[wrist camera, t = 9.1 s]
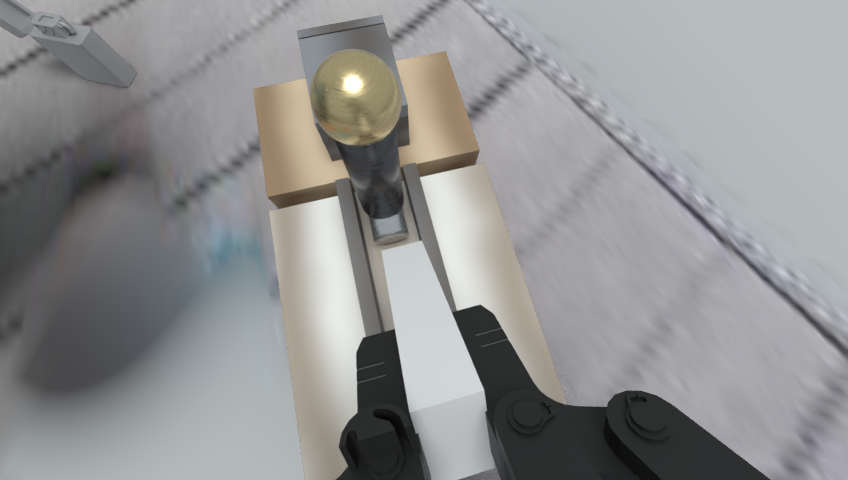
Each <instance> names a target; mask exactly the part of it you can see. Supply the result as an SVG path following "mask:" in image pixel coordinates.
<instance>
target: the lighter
mask: <svg viewBox="0 0 848 480" xmlns="http://www.w3.org/2000/svg"><path fill="white" fill-rule="evenodd" d="M0 27H2V28H4V29H5V30H7V31H9V32H10V33H12V34H14V35H15V36H17V37H20V38H23V37H25V36H26V35H28V34H29V35H30V36H31V37H32V38H33V39H34V40H36V41H37V42H38V43H39V44H41V45H42V46H43V47H45V48H46V49H47V50H48V51H50V52H51V53H52V54H53V55H55V56H56V57H57V58H58V59H60V60H61V61H62V62H63V63H65V64H66V65H67V66H68V67H70V68H71V69H72V70H73V71H75V72H76V73H77V74H78V75H80V76H81V77H82V78H83V79H85V80H90V81H95V82H100V83H105V84H110V85H115V86H121V87H126V88H127V87H129V86H130V84H131V83H132V81H133V79H134V77H135V76H136V74H137V73H136V71H135V70H134V69H133V68H132V67H131V66H130V65H129V64H128V63H127V62H126V61H125V60H124V59H123V58H122V57H121V56H120V55H119V54H118V53H117V52H115V51H114V50H113V49H112V48H111V47H110V46H109V45H108V44H107V43H106V42H105V41H104V40H103V39H102V38H101V37H100V36H99V35H98V34H97V33H96V32H95V31H94V30H93V29H92V28H91V27H88V26H83V25H77V24H72V23H68V22H67V21H66V20H65V19H64V18H63V17H62V16H60V15H55V14H49V13H44V12H38V13H37V14H34V13H33V12H31V11H30V10H28V9H27V8H25V7H24V6H22V5H21V4H19V3H18V2H16V1H15V0H0Z"/></svg>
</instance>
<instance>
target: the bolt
mask: <svg viewBox="0 0 848 480" xmlns="http://www.w3.org/2000/svg"><path fill="white" fill-rule="evenodd" d="M310 103H311V107H312V111H313V114H314V116H315V118H316V120H317V122H318V123H319V125H320V126H321V127H322V129H323V130H324V131H325V132H326V133H327V134H328V135H329V136H331V137H332V138H334V140H335V143H336V145H337V148H338V150H339V153H340V155H341V157H342V160H343V162H344V165H345V167H346V169H347V172H348V174H349V177H350V179H351V181H352V184H353V186H354V189H355V191H356V194H357V196H358V198H359V201H360V203H361V206H362V208H363V210H364V212H365V213H366V214H367V215H368V216H369V220H370V225H371V229H372V234H373V238H374V242H375V243H378V244H386V243H392V242H396V241H399V240H401V239H403V238H405V237H407V236H408V234H409V233H408V229H407V225H406V221H405V217H404V213H403V209H402V207H403V203H404V195H403V186H402V177H401V168H400V159H399V150H398V141H397V132H396V123H397V121H398V119H399V116H400V112H401V106H402V96H401V90H400V86H399V83H398V81H397V78H396V76H395V75H394V73H393V71H392V70H391V69H390V67H389V66H388V65H387V64H386V63H385V62H384V61H383V60H382V59H380V58H379V57H378V56H376V55H374V54H372V53H370V52H367V51H364V50H360V49H345V50H341V51H338V52H335V53H333V54H331V55H330V56H328V57H327V58H326V59H325V60H324V61H323V62H322V63H321V64H320V65H319V66H318V68H317V69H316V71H315V73H314V75H313V78H312V81H311V86H310Z"/></svg>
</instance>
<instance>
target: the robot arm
mask: <svg viewBox="0 0 848 480" xmlns="http://www.w3.org/2000/svg"><path fill="white" fill-rule="evenodd" d="M381 252H382V258H383V263H384V269H385V275H386V281H387V287H388V292H389V298H390V304H391V310H392V315H393V321H394V327H395V329H393V330H389V331H385V332H382V333H378V334H374V335H371V336H367V337H363V339H362V341H361V343H360V345H359V348H358V350H357V352H356V369H357V412H358V413H356V414H355V415H354V416H353V417H352V418H351V419H350V420H349V421H348V423H347V425H346V426H345V428H344V430H343V431H342V433H341V438H340V442H339V449H340V451H341V453H342V455H343V457H344V459H345V461H346V463H347V465H348V467H347V468H346V469H345V470H344V472H343V473H342V474H341V475H340V476H339V477H338V478H337V479H336V480H459V479H462V478H465V477H468V476H471V475H474V474H478V473H481V472H484V471H487V470H490V469H493V468H495V464H496V467H497V470H498V472H499V475H500V478H501V480H770V479H769V478H768V477H766V476H765V475H764V474H762V473H761V472H760V471H758V470H757V469H756V468H754V467H753V466H752V465H750V464H749V463H748V462H747V461H745V460H744V459H743V458H741V457H740V456H739V455H737V454H736V453H735V452H733V451H732V450H731V449H729V448H728V447H727V446H726V445H724V444H723V443H722V442H720V441H719V440H718V439H716V438H715V437H714V436H712V435H711V434H710V433H708V432H707V431H706V430H705V429H703V428H702V427H701V426H699V425H698V424H697V423H695V422H694V421H693V420H691V419H690V418H689V417H687V416H686V415H685V414H684V413H682V412H681V411H680V410H678V409H677V408H676V407H674V406H673V405H672V404H670V403H668V402H667V401H665V400H663V399H662V398H660V397H658V396H656V395H653V394H650V393H646V392H643V391H624V392H621V393H619V394H616V395H614V397H613V398H612V399H611V400H610V401H609V402H608V405H607V407H584V406H571V405H566V404H562V403H559V402H556V401H555V400H553V399H551V398H549V397H547V396H546V395H545V394H544V393H543V392H541V391H540V390H539V389H538V387H537V386H536V385H535V383H534V382H533V380H532V378H531V377H530V375H529V373H528V371H527V370H526V368H525V366H524V365H523V363H522V361H521V360H520V358H519V356H518V354H517V353H516V351H515V349H514V348H513V346H512V344H511V342H510V341H509V340H508V337H507V336H506V334H505V332H504V330H503V329H502V328H501V325H500V324H499V322H498V320H497V318H496V317H495V315H494V314H493V313H492V312H491V311H489V310H488V309H486V308H485V307H483V306H482V305H481V304H480V305H477V306H473V307H469V308H466V309H462V310H458V311H455V312H451V309H450V307H449V305H448V302H447V300H446V297H445V295H444V293H443V290H442V288H441V285H440V283H439V281H438V278H437V276H436V273H435V271H434V269H433V266H432V264H431V261H430V259H429V257H428V254H427V252H426V249H425V247H424V245H423V242H422V241H418V242H414V243H410V244H406V245H402V246H398V247H394V248H390V249H386V250H382V251H381ZM494 462H495V464H494Z"/></svg>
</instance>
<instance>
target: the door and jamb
mask: <svg viewBox="0 0 848 480" xmlns="http://www.w3.org/2000/svg"><path fill="white" fill-rule="evenodd" d="M297 34H298V39H299V44H300V50H301V55H302V60H303V65H304V71H305V76H306V79H301V80H296V81H291V82H286V83H281V84H276V85H271V86H266V87H260V88H255V89H253V93H254V100H255V108H256V115H257V123H258V131H259V138H260V146H261V153H262V161H263V168H264V176H265V183H266V191H267V197H268V198H269V199H270V200H271V201H272V202H273V203H274V204H275V205H276V206H277V207H278V208H279V209H277V210H273V211H269V214H270V221H271V229H272V236H273V244H274V251H275V259H276V266H277V274H278V282H279V289H280V297H281V304H282V312H283V319H284V327H285V334H286V342H287V350H288V357H289V365H290V372H291V380H292V387H293V395H294V402H295V410H296V418H297V425H298V433H299V440H300V448H301V455H302V463H303V470H304V478H305V480H336V479H337V478H338V477H339V476H340V475H341V474H342V473H343V472H344V470H345V469H346V468H347V467H348V465H347V463H346V461H345V459H344V457H343V455H342V453H341V451H340V449H339V442H340V438H341V433H342V431H343V430H344V428H345V426H346V425H347V423H348V421H349V420H350V419H351V418H352V417H353V416H354V415H355V414H356V413H358V412H357V369H356V352H357V350H358V348H359V345H360V343H361V341H362V339H363V337H367V336H371V335H374V334H378V333H382V332H385V331H389V330H393V329H395V327H394V321H393V315H392V310H391V304H390V298H389V292H388V287H387V281H386V275H385V269H384V263H383V258H382V252H381V251H382V250H386V249H390V248H394V247H398V246H402V245H406V244H410V243H414V242H418V241H422V242H423V245H424V247H425V249H426V252H427V254H428V257H429V259H430V261H431V264H432V266H433V269H434V271H435V273H436V276H437V278H438V281H439V283H440V285H441V288H442V290H443V293H444V295H445V297H446V300H447V302H448V305H449V307H450V309H451V312H455V311H458V310H462V309H466V308H469V307H473V306H477V305H480V304H481V305H482V306H483V307H485V308H486V309H488V310H489V311H491V312H492V313H493V314H494V315H495V317H496V318H497V320H498V322H499V324H500V325H501V328H502V329H503V330H504V332H505V334H506V336H507V337H508V340H509V341H510V342H511V344H512V346H513V348H514V349H515V351H516V353H517V354H518V356H519V358H520V360H521V361H522V363H523V365H524V366H525V368H526V370H527V371H528V373H529V375H530V377H531V378H532V380H533V382H534V383H535V385H536V386H537V387H538V389H539V390H540V391H541V392H543V393H544V394H545V395H546V396H547V397H549V398H551V399H553V400H555V401H556V402H559V403H562V404H566V405H567V402H566V399H565V396H564V393H563V391H562V388H561V385H560V382H559V379H558V376H557V373H556V370H555V367H554V364H553V362H552V359H551V356H550V353H549V350H548V347H547V344H546V341H545V338H544V335H543V333H542V330H541V327H540V324H539V321H538V318H537V315H536V312H535V309H534V306H533V304H532V301H531V298H530V295H529V292H528V289H527V286H526V283H525V280H524V277H523V275H522V272H521V269H520V266H519V263H518V260H517V257H516V254H515V251H514V248H513V246H512V243H511V240H510V237H509V234H508V231H507V228H506V225H505V222H504V219H503V216H502V214H501V211H500V208H499V205H498V202H497V199H496V196H495V193H494V190H493V187H492V185H491V182H490V179H489V176H488V173H487V170H486V167H485V164H484V163H482V164H477V165H475V164H476V160H477V157H478V154H479V147H478V144H477V141H476V138H475V135H474V132H473V129H472V127H471V124H470V121H469V118H468V115H467V112H466V109H465V106H464V103H463V100H462V98H461V95H460V92H459V89H458V86H457V83H456V80H455V77H454V74H453V71H452V69H451V66H450V63H449V60H448V57H447V54H446V51H445V52H440V53H435V54H430V55H425V56H419V57H414V58H409V59H404V60H399V61H395V58H394V55H393V51H392V48H391V44H390V41H389V37H388V34H387V31H386V27H385V24H384V20H383V17H382V15H380V16H374V17H369V18H363V19H358V20H352V21H347V22H341V23H336V24H330V25H325V26H319V27H314V28H309V29H303V30H298V31H297ZM345 49H360V50H364V51H367V52H370V53H372V54H374V55H376V56H378V57H379V58H380V59H382V60H383V61H384V62H385V63H386V64H387V65H388V66H389V67H390V69H391V70H392V71H393V73H394V75H395V76H396V78H397V81H398V83H399V86H400V90H401V96H402V106H401V112H400V116H399V119H398V121H397V123H396V132H397V141H398V150H399V159H400V168H401V177H402V186H403V195H404V203H403V207H402V209H403V213H404V217H405V221H406V225H407V229H408V233H409V234H408V236H407V237H405V238H403V239H401V240H399V241H396V242H392V243H386V244H378V243H375V242H374V238H373V234H372V229H371V225H370V220H369V216H368V215H367V214H366V213H365V212H364V210H363V208H362V206H361V203H360V201H359V198H358V196H357V194H356V191H355V189H354V186H353V184H352V181H351V179H350V177H349V174H348V172H347V169H346V167H345V165H344V162H343V160H342V157H341V155H340V153H339V150H338V148H337V145H336V143H335V140H334V138H332V137H331V136H329V135H328V134H327V133H326V132H325V131H324V130H323V129H322V127H321V126H320V125H319V123H318V122H317V120H316V118H315V116H314V114H313V111H312V107H311V103H310V86H311V81H312V78H313V75H314V73H315V71H316V69H317V68H318V66H319V65H320V64H321V63H322V62H323V61H324V60H325V59H326V58H327V57H328V56H330V55H331V54H333V53H335V52H338V51H341V50H345Z"/></svg>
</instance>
